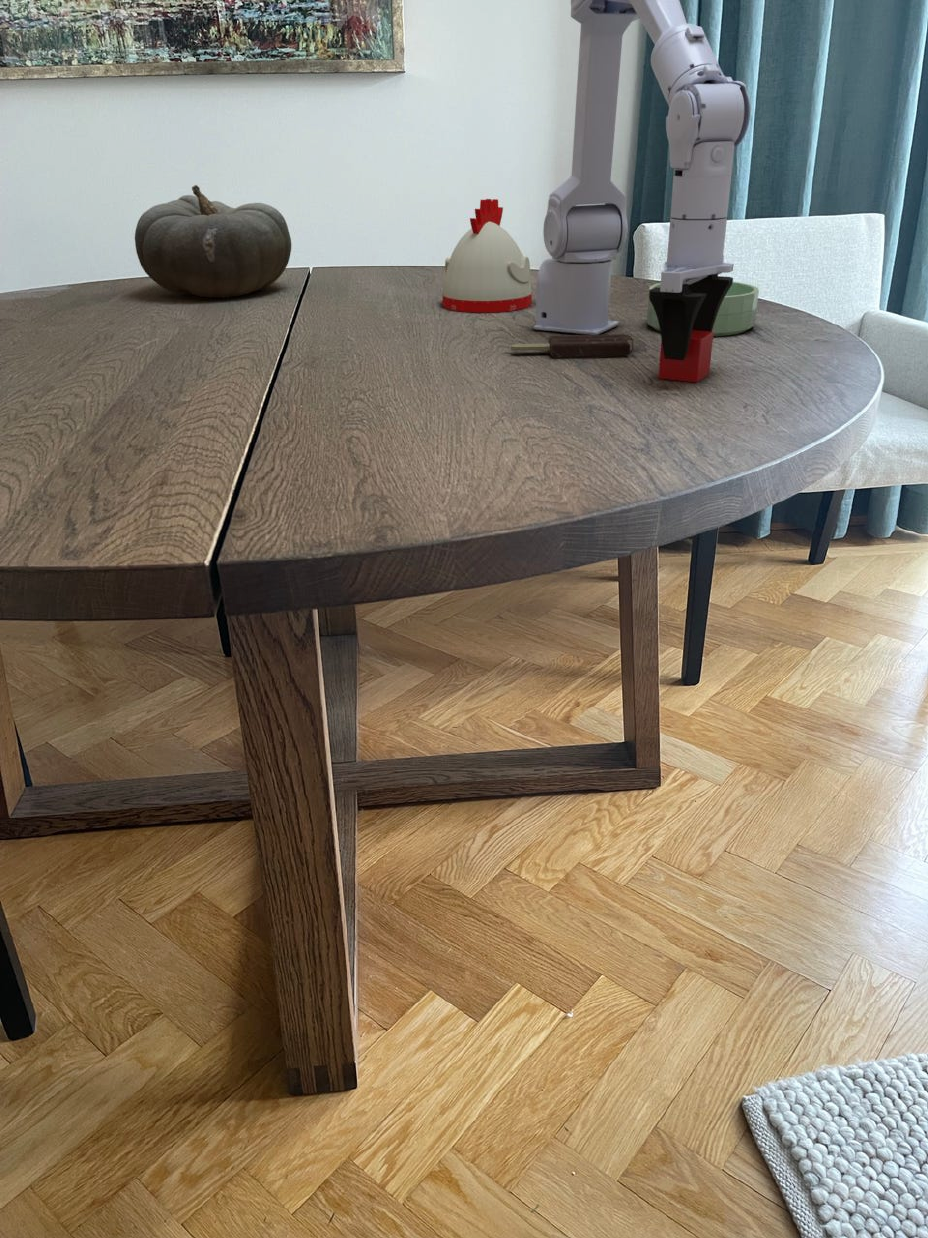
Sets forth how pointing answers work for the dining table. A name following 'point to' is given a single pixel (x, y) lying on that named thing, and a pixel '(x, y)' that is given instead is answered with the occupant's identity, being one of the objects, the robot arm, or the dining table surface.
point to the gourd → (212, 246)
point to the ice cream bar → (583, 346)
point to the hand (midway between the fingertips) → (686, 351)
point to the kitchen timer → (487, 267)
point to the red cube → (689, 360)
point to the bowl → (725, 310)
